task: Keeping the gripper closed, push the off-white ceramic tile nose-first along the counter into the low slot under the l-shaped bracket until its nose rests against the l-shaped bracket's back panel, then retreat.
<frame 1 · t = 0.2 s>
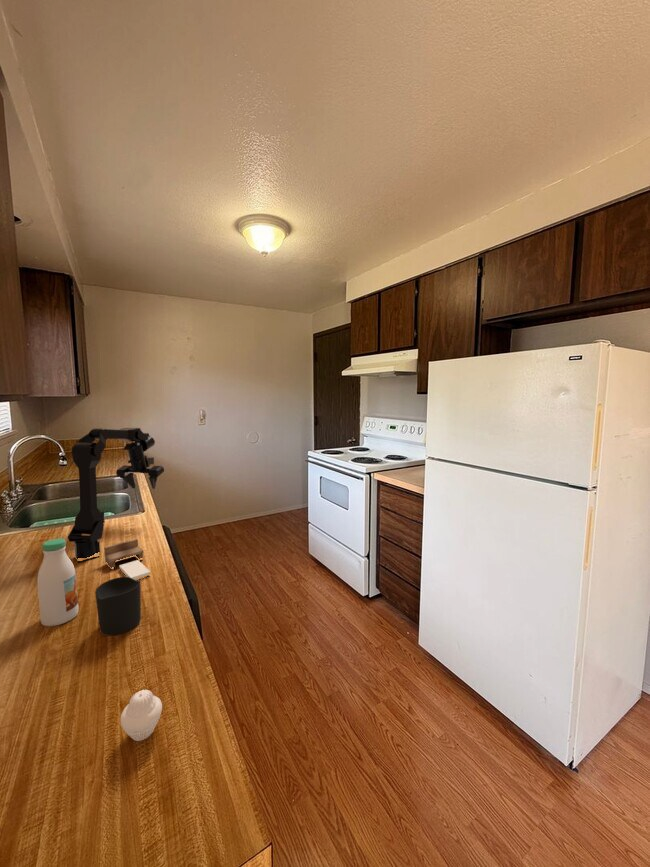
hand: (144, 488, 158), 15 cm above the worktop, tool pointing down, fingers open, 9 cm apart
milk bottle: (60, 618, 91), on the worktop
pen holder: (121, 625, 88), on the worktop
white rounded lump: (143, 733, 59), on the worktop
l-shaped bracket: (125, 563, 120), on the worktop
tile: (135, 574, 114), on the worktop
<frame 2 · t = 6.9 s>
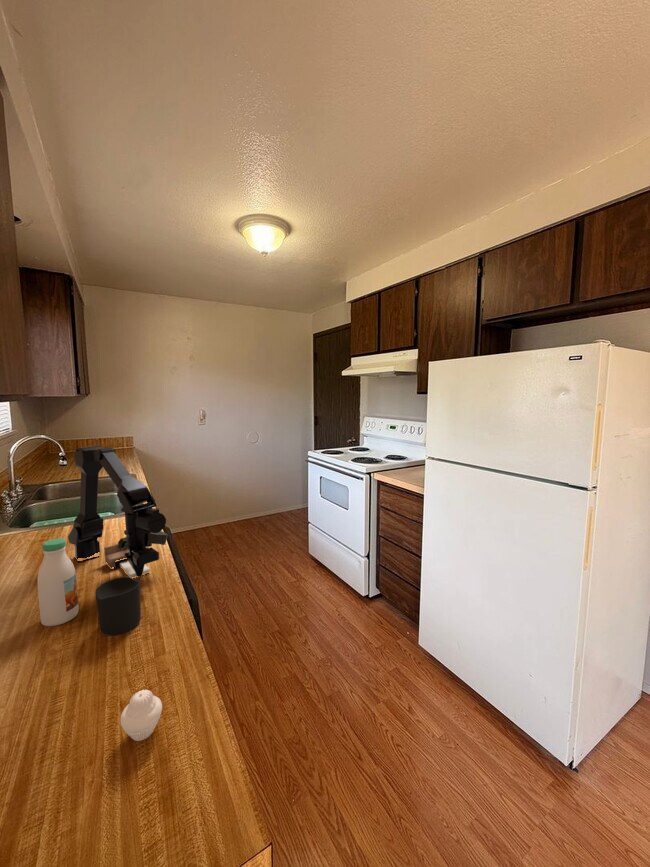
hand: (139, 576, 110), 1 cm above the worktop, tool pointing down, fingers closed
tile: (134, 571, 115), on the worktop
everything else where it was.
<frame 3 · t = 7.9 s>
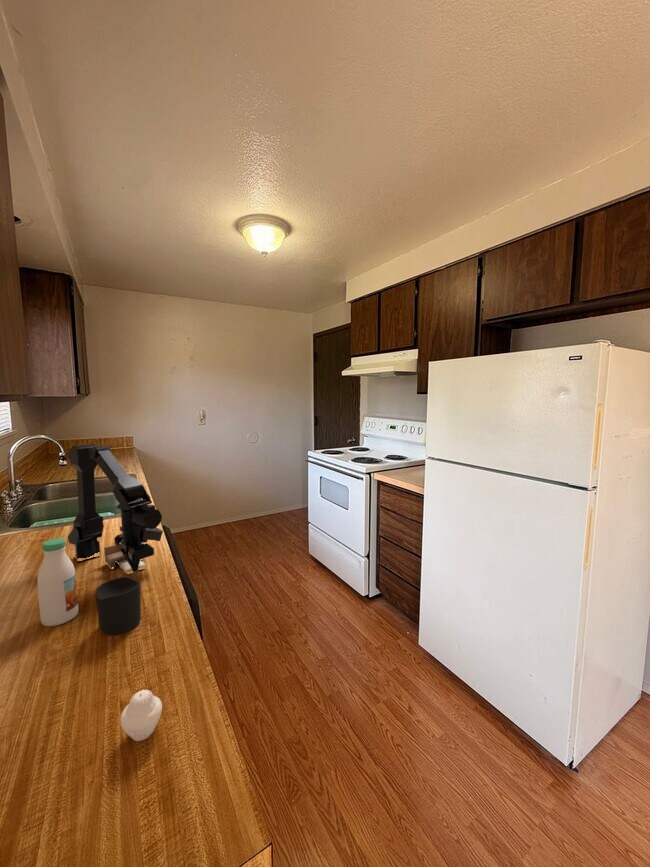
hand: (135, 571, 113), 1 cm above the worktop, tool pointing down, fingers closed
tile: (130, 567, 118), on the worktop
everything else where it was.
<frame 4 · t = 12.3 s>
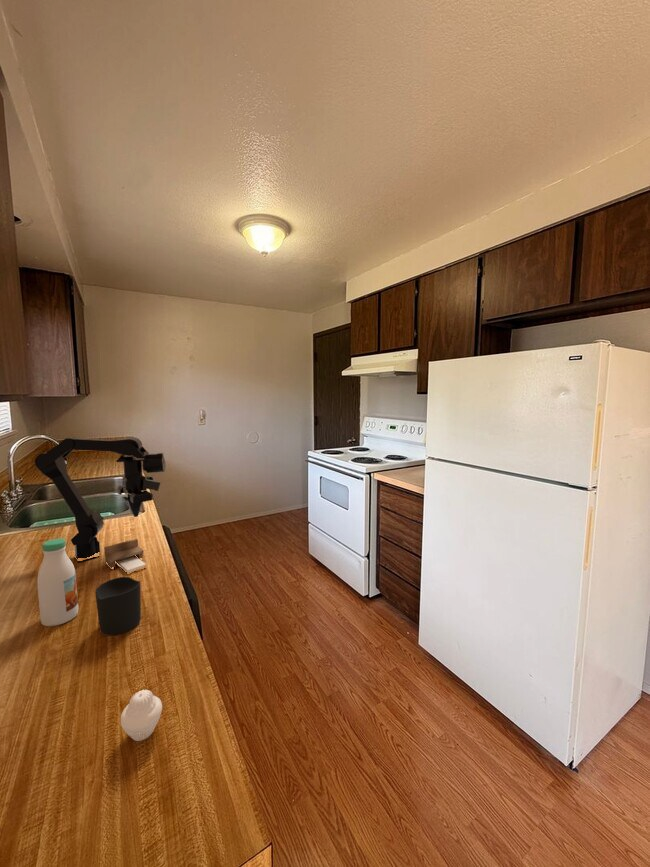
hand: (135, 516, 128), 13 cm above the worktop, tool pointing down, fingers closed
nothing on the worktop moved.
at the end: tile 0.7 cm from the target spot on the l-shaped bracket, point -0.5 cm above the l-shaped bracket's base; tile tilted 0°; tile moved 6.3 cm from its start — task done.
